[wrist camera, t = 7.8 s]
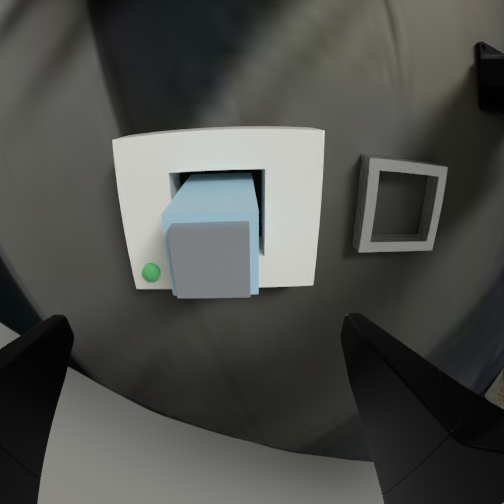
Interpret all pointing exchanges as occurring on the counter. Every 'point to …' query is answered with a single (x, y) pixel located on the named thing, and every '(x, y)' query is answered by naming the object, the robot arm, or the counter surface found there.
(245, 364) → the counter surface
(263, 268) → the port panel
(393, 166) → the gray square frame
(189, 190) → the plug
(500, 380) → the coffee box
